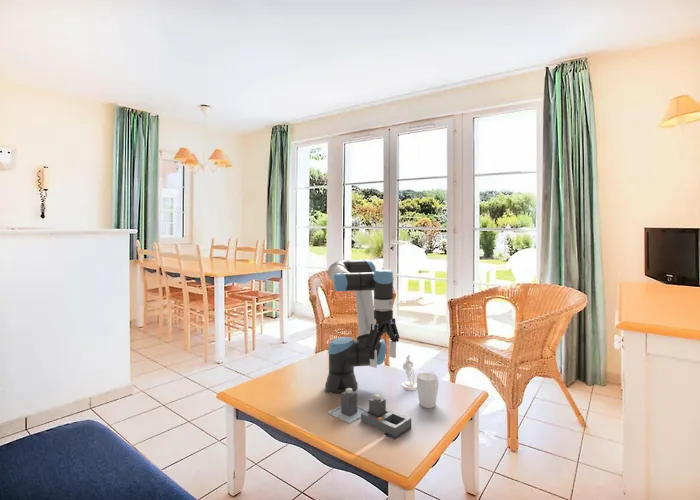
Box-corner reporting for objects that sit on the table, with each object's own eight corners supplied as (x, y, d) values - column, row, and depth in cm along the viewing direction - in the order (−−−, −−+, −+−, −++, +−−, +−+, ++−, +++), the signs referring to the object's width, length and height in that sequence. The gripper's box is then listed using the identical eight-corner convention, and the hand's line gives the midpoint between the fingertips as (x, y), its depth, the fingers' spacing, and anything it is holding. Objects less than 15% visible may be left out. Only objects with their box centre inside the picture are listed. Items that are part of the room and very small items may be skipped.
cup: (438, 410, 153) (438, 381, 152) (416, 408, 155) (416, 379, 154) (438, 400, 162) (438, 373, 161) (416, 399, 163) (416, 371, 163)
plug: (341, 413, 149) (341, 389, 149) (349, 409, 152) (348, 386, 152) (349, 416, 146) (349, 392, 146) (357, 412, 149) (357, 389, 149)
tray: (327, 415, 149) (327, 412, 149) (348, 405, 158) (348, 402, 158) (349, 426, 141) (349, 422, 141) (370, 414, 150) (370, 411, 149)
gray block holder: (361, 423, 142) (360, 396, 142) (377, 414, 150) (377, 388, 149) (395, 439, 131) (395, 410, 131) (411, 428, 139) (411, 400, 138)
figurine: (400, 382, 182) (399, 352, 181) (418, 382, 181) (418, 352, 181) (402, 390, 173) (401, 358, 172) (421, 390, 172) (421, 358, 172)
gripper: (372, 316, 136) (372, 373, 137) (407, 305, 155) (407, 355, 157) (356, 313, 141) (356, 368, 142) (392, 302, 160) (392, 351, 161)
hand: (383, 361), depth 149 cm, fingers open, 13 cm apart
